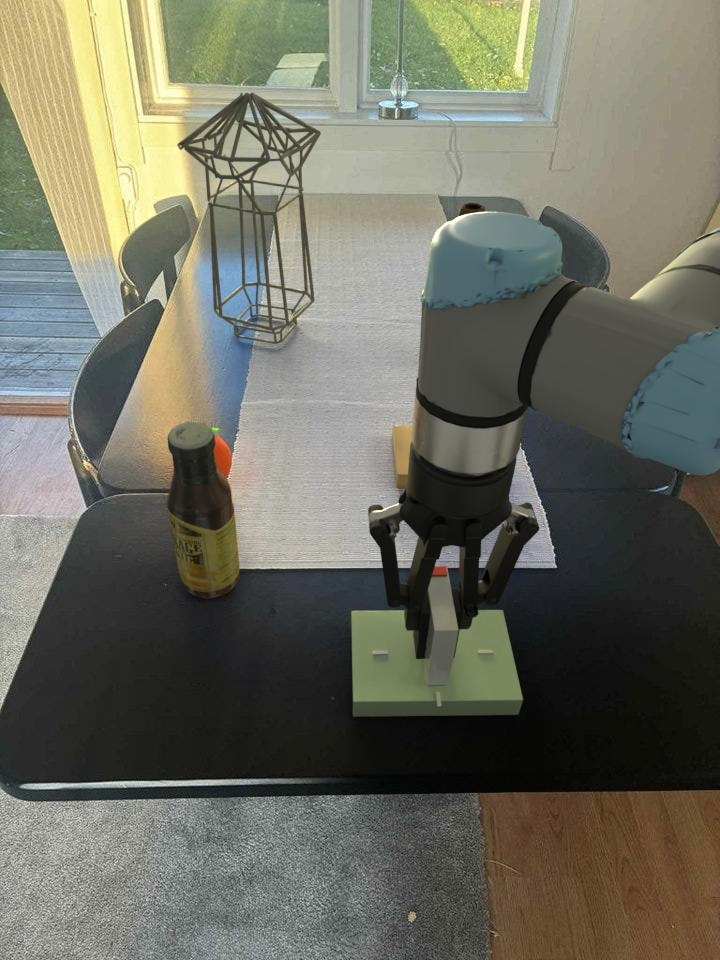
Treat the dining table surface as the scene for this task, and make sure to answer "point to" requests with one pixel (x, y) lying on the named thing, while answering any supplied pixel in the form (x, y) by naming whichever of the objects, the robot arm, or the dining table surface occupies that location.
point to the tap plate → (401, 678)
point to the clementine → (222, 454)
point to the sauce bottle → (201, 513)
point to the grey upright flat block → (440, 629)
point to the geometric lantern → (228, 117)
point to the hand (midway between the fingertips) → (433, 645)
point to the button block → (401, 453)
